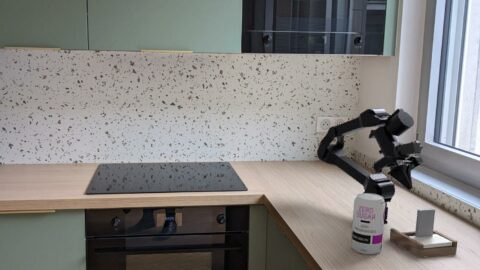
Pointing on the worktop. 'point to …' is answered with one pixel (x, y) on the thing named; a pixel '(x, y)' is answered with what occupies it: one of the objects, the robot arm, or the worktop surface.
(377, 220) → the supplement can
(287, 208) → the worktop surface
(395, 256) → the worktop surface
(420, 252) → the board
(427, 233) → the lid
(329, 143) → the robot arm
